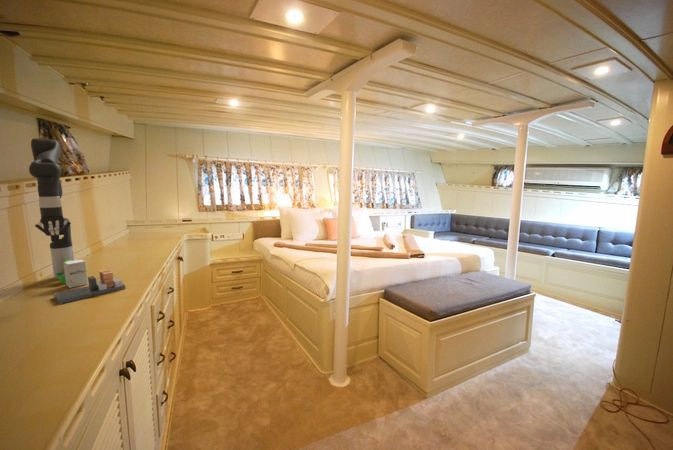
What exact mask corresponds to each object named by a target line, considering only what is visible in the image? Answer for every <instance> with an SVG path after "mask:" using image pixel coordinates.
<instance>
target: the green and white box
mask: <svg viewBox="0 0 673 450" xmlns="http://www.w3.org/2000/svg"><path fill="white" fill-rule="evenodd" d="M67 261H70V260H65V261H64V262H67ZM63 270H64V265H63ZM87 271H88V270H87V269H86V272H87ZM56 275H57V276H58V278H59V279H58V280H59V282H60V283H62V284H63V285H66V279H65V271H63V272H60V273H56Z"/></svg>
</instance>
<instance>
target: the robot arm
mask: <svg viewBox="0 0 673 450" xmlns="http://www.w3.org/2000/svg"><path fill="white" fill-rule="evenodd" d="M30 148H31V153H32V156H33V157H32V158H33V161H32V162H31V163H30V164H29V167H28V172H29V175H31V176H32V177H33V178H35V179H37V180H36V181H37V193H38V207H39V213H40V219H39V222H38V223H35V224H34V227H35V228H37V229H38V230H40V232H43V233H44V234H45V236H49V237H50V243H49V249H50V255H51V256H50V257H51V263H52V270H53V279H55V280H59V278H58V276H57V275H56V273H60V272H63V271H64V270H63V265H64V263H63V262H64V261H65V260H70V261H74V260H75V255H74V249H73V241H72V231H71V230H72V227H71V225H72V223H71V222H70V221H71V220H69V218H67V217H64V215H63V214H64V213H63V208H62V207H63V206H62V201H61V198H62V197H63V188H62V182H61V180H60V178H61V175H62V167H61V166H60V165H59V164H58V163H57V161H58V159H59V158H60V157H61V154H62V148H61V144H60V142H59V141H58V140H56V139H51V138H49V139H48V138H47V139H46V138H32V139H31V140H30ZM62 235H63V236H62ZM60 236H62V237H61V238H60Z"/></svg>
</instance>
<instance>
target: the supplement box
mask: <svg viewBox="0 0 673 450" xmlns="http://www.w3.org/2000/svg"><path fill="white" fill-rule="evenodd" d="M63 263H64V271H65V279H66V284H65V285H66V286H67V287H68V288H69V289H71V288H77V287H80V286H86V285H87V286H88V285H89V282H88V277H87V271H86V270H87V267H86V261H85V260H84V259H74V261H67V262H63Z"/></svg>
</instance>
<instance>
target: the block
mask: <svg viewBox="0 0 673 450" xmlns="http://www.w3.org/2000/svg"><path fill="white" fill-rule="evenodd" d="M98 272H99V279H100V280H101V281H103V282H104V283H106V285H107V287H112V286H114V282H113V276H114V274H113V273H114V272H113V271H111V270H109V269H101V270H98Z"/></svg>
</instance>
